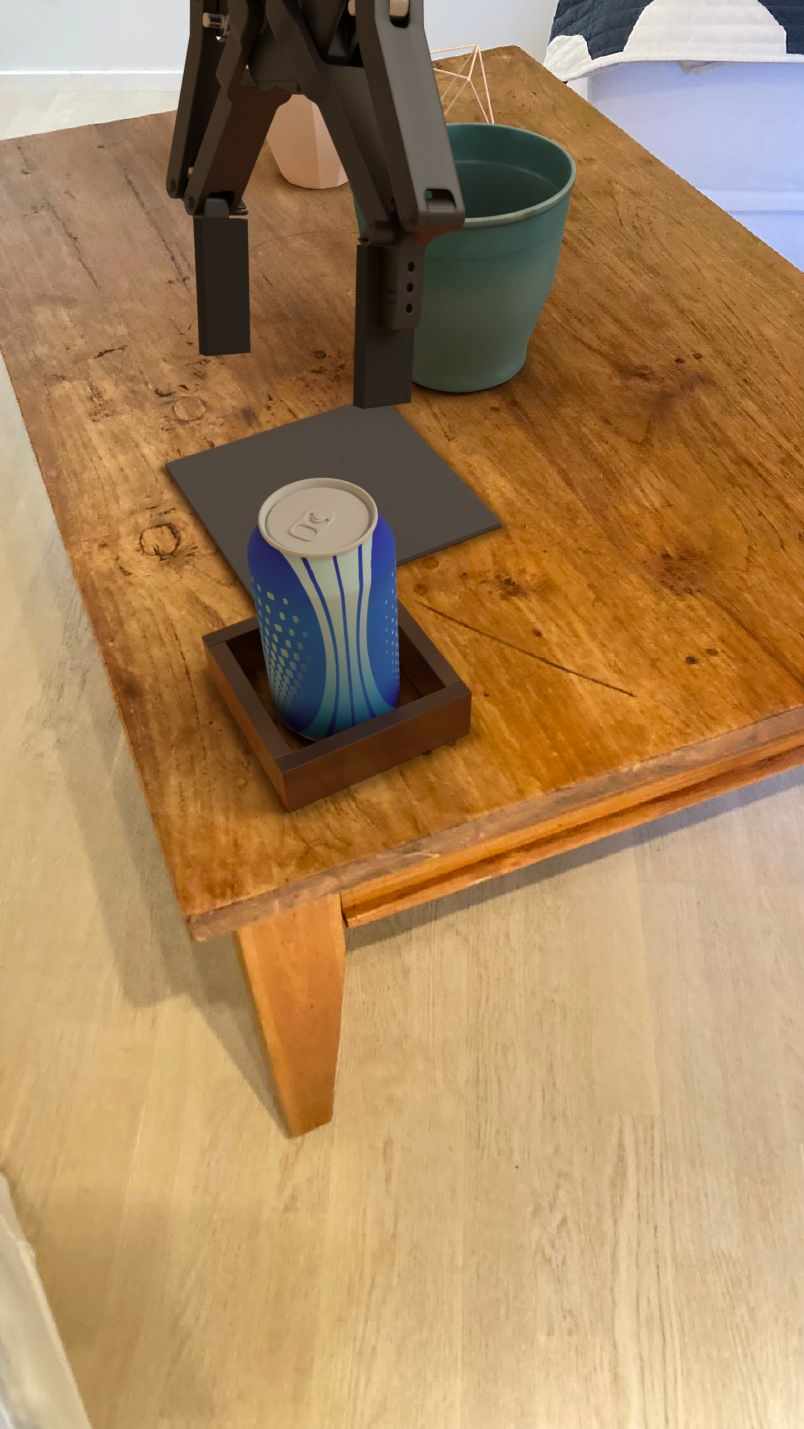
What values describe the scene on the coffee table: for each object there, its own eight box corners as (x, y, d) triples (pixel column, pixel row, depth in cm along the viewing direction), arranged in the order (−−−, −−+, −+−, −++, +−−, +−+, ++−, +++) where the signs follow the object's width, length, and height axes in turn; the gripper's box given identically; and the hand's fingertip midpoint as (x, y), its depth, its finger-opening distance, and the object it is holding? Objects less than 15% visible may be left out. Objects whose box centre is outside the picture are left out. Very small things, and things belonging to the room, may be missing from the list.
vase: (235, 167, 124) (201, -94, 105) (340, 138, 129) (324, -117, 110) (294, 213, 116) (269, -61, 97) (403, 180, 121) (399, -87, 102)
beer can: (259, 677, 72) (224, 487, 60) (376, 645, 74) (365, 454, 61) (294, 769, 67) (263, 582, 54) (418, 732, 68) (416, 543, 56)
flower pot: (351, 416, 91) (338, 219, 78) (365, 308, 103) (356, 121, 90) (561, 418, 91) (583, 219, 78) (551, 309, 102) (569, 120, 89)
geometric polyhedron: (501, 126, 130) (505, 43, 123) (493, 163, 123) (496, 77, 116) (401, 123, 132) (399, 40, 125) (387, 159, 125) (385, 74, 118)
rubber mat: (165, 468, 87) (164, 463, 87) (380, 398, 93) (380, 393, 93) (263, 617, 76) (262, 612, 75) (500, 527, 81) (501, 522, 81)
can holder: (210, 676, 72) (200, 635, 69) (378, 611, 76) (376, 569, 73) (289, 813, 65) (282, 774, 62) (470, 733, 68) (472, 692, 65)
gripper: (598, -221, 35) (532, 421, 45) (217, -120, 52) (231, 332, 62) (427, -281, 31) (395, 442, 41) (72, -150, 48) (112, 341, 58)
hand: (296, 377), depth 52 cm, fingers open, 13 cm apart
